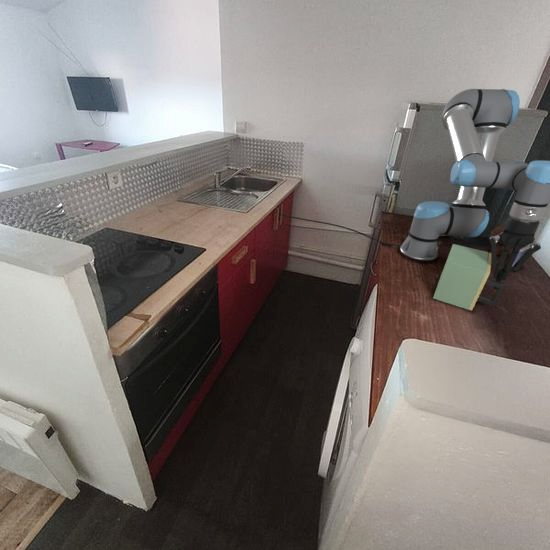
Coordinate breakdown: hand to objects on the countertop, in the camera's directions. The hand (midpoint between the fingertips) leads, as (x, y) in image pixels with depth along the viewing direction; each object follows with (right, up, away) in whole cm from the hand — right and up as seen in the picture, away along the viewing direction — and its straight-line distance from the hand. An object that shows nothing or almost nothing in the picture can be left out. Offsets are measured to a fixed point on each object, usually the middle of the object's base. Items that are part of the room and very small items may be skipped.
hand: (495, 287), depth 96 cm
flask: (+28, +7, +27) cm, 40 cm away
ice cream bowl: (+30, +14, +38) cm, 50 cm away
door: (-1, -5, +6) cm, 8 cm away
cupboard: (-8, -3, +10) cm, 13 cm away
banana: (+11, +24, +53) cm, 59 cm away
